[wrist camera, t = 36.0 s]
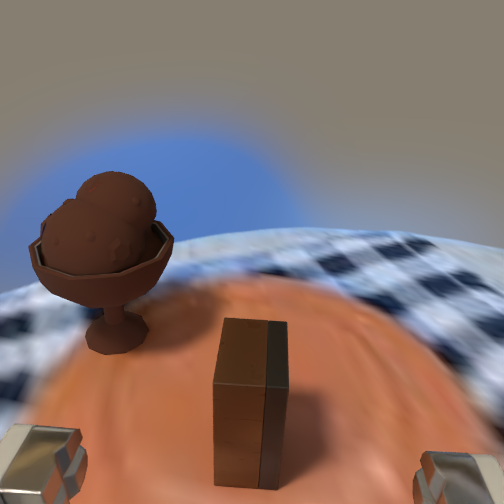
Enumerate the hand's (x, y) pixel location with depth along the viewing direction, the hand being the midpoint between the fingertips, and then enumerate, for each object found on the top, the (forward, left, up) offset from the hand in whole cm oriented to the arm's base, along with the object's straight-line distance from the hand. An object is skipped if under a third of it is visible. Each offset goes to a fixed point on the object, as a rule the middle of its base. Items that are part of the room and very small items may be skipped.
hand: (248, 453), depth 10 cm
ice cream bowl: (+18, -19, -17) cm, 31 cm away
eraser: (+3, -12, -17) cm, 21 cm away
